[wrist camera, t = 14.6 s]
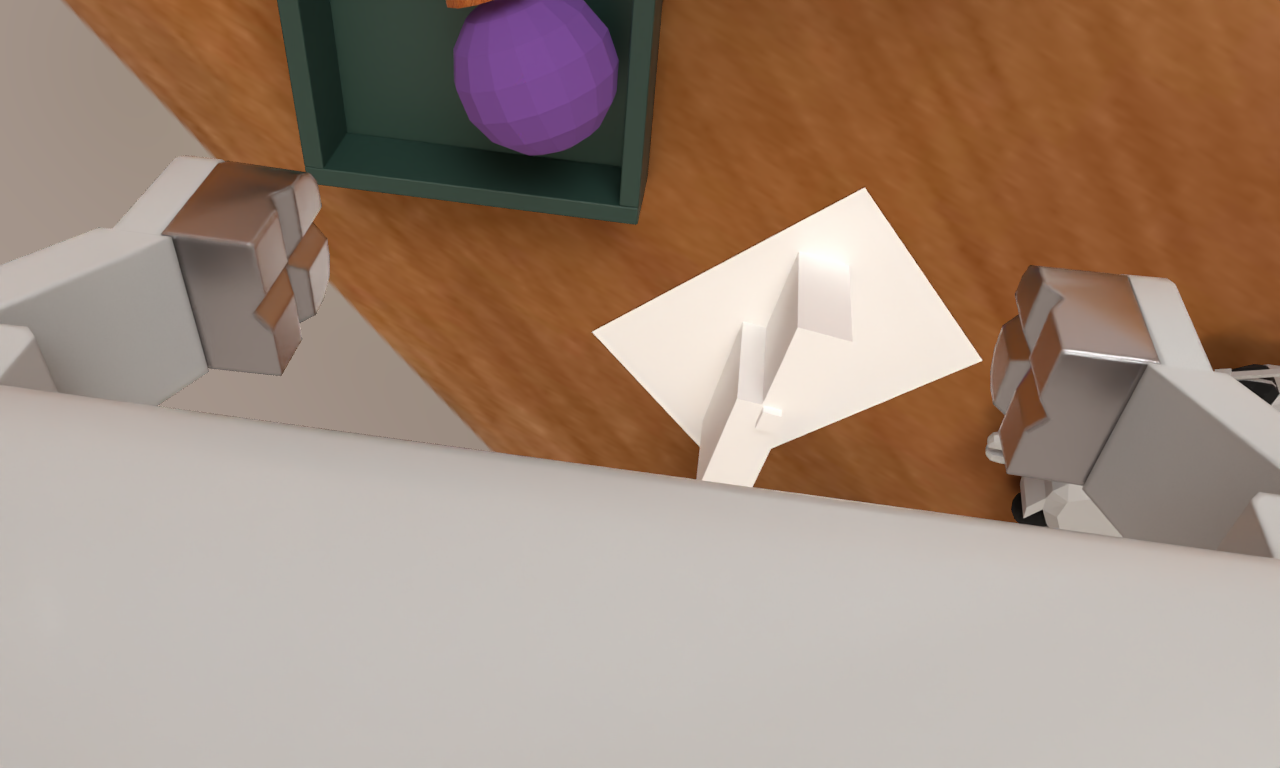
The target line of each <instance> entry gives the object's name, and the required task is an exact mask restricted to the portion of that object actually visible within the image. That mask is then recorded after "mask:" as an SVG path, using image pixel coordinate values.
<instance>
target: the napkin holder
mask: <svg viewBox="0 0 1280 768" xmlns="http://www.w3.org/2000/svg"><path fill="white" fill-rule="evenodd" d="M592 333H593V334H594V335H595V336H596V337H597V338H598V339H599V340H600V341H601V342H602V343H603V344H604V345H605V346H606V348H607V349H608V350H609V351H610V352H611V353H612V354H613V355H614V356H615V357H616V358H617V359H618V360H619V361H620V362H621V364H622V365H623V366H624V367H625V368H626V369H627V370H628V371H629V372H630V373H631V374H632V375H633V376H634V377H635V378H636V380H637V381H638V382H639V383H640V384H641V385H642V386H643V387H644V388H645V389H646V390H647V391H648V392H649V393H650V394H651V396H652V397H653V398H654V399H655V400H656V401H657V402H658V403H659V404H660V405H661V406H662V407H663V408H664V409H665V410H666V412H667V413H668V414H669V415H670V416H671V417H672V418H673V419H674V420H675V421H676V422H677V423H678V424H679V425H680V426H681V428H682V429H683V430H684V431H685V432H686V433H687V434H688V435H689V436H690V437H691V438H692V439H693V440H694V441H695V442H696V444H697V445H698V446H699V447H700V451H699V460H698V470H697V479H696V480H703V481H711V482H718V483H725V484H733V485H740V486H747V487H753V485H754V483H755V481H756V479H757V476H758V474H759V472H760V470H761V468H762V466H763V464H764V462H765V460H766V458H767V456H768V454H769V452H770V450H771V448H774V447H776V446H779V445H781V444H783V443H786V442H788V441H791V440H793V439H795V438H798V437H800V436H803V435H805V434H807V433H810V432H812V431H815V430H817V429H819V428H822V427H824V426H827V425H829V424H831V423H834V422H836V421H839V420H841V419H843V418H846V417H848V416H851V415H853V414H855V413H858V412H860V411H863V410H865V409H867V408H870V407H872V406H875V405H877V404H879V403H882V402H884V401H887V400H889V399H891V398H894V397H896V396H899V395H901V394H903V393H906V392H908V391H911V390H913V389H915V388H918V387H920V386H923V385H925V384H927V383H930V382H932V381H935V380H937V379H939V378H942V377H944V376H947V375H949V374H951V373H954V372H956V371H959V370H961V369H963V368H966V367H968V366H971V365H973V364H975V363H978V362H980V361H983V360H982V359H981V358H980V356H979V355H978V353H977V352H976V350H975V349H974V347H973V346H972V344H971V343H970V341H969V340H968V338H967V337H966V335H965V334H964V333H963V331H962V330H961V328H960V327H959V325H958V324H957V322H956V321H955V319H954V318H953V316H952V315H951V313H950V312H949V311H948V309H947V308H946V306H945V305H944V303H943V302H942V300H941V299H940V297H939V296H938V294H937V293H936V291H935V290H934V288H933V287H932V286H931V284H930V283H929V281H928V280H927V278H926V277H925V275H924V274H923V272H922V271H921V269H920V268H919V266H918V265H917V264H916V262H915V261H914V259H913V258H912V256H911V255H910V253H909V252H908V250H907V249H906V247H905V246H904V244H903V243H902V241H901V240H900V239H899V237H898V236H897V234H896V233H895V231H894V230H893V228H892V227H891V225H890V224H889V222H888V221H887V219H886V218H885V216H884V215H883V214H882V212H881V211H880V209H879V208H878V206H877V205H876V203H875V202H874V200H873V199H872V197H871V196H870V194H869V193H868V192H867V190H866V189H865V188H863V189H861V190H859V191H857V192H855V193H853V194H851V195H850V196H848V197H846V198H844V199H842V200H840V201H838V202H836V203H834V204H833V205H831V206H829V207H827V208H825V209H823V210H821V211H819V212H817V213H816V214H814V215H812V216H810V217H808V218H806V219H804V220H802V221H800V222H799V223H797V224H795V225H793V226H791V227H789V228H787V229H785V230H783V231H781V232H780V233H778V234H776V235H774V236H772V237H770V238H768V239H766V240H764V241H763V242H761V243H759V244H757V245H755V246H753V247H751V248H749V249H747V250H746V251H744V252H742V253H740V254H738V255H736V256H734V257H732V258H730V259H729V260H727V261H725V262H723V263H721V264H719V265H717V266H715V267H713V268H712V269H710V270H708V271H706V272H704V273H702V274H700V275H698V276H696V277H695V278H693V279H691V280H689V281H687V282H685V283H683V284H681V285H679V286H678V287H676V288H674V289H672V290H670V291H668V292H666V293H664V294H662V295H660V296H659V297H657V298H655V299H653V300H651V301H649V302H647V303H645V304H643V305H642V306H640V307H638V308H636V309H634V310H632V311H630V312H628V313H626V314H625V315H623V316H621V317H619V318H617V319H615V320H613V321H611V322H609V323H608V324H606V325H604V326H602V327H600V328H598V329H596V330H594V331H592Z"/></svg>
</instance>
